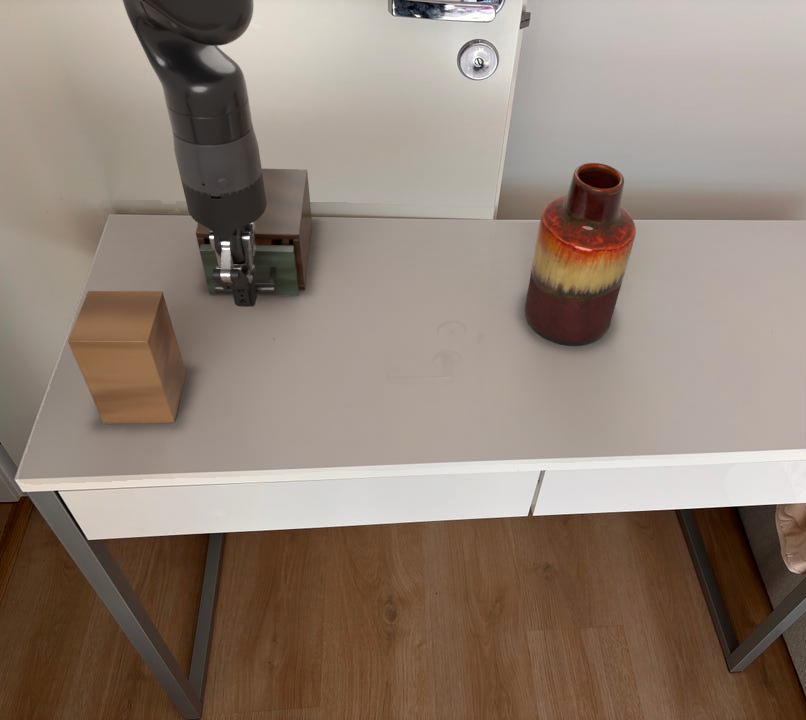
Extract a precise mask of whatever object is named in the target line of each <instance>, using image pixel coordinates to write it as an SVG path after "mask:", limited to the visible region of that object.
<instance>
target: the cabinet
mask: <svg viewBox="0 0 806 720" xmlns="http://www.w3.org/2000/svg"><path fill="white" fill-rule="evenodd" d="M262 174H263V181H264V188H265V195H266V202H267V204H266V209H265V211H264V213H263V214H262V216H261V217H260V218H259V219H257V220H256V221H255V239H284V240H293V245H294V251H295V259H296V268H297V277H298V285H299V291H306V286H307V277H308V276H307V275H308V267H309V256H310V250H311V249H310V247H311V238H312V231H313V230H312V229H313V218H312V206H311V198H310V197H311V195H310V187H309V186H310V185H309V176H308V175H309V174H308V170H307V169H297V168H295V169H293V168H292V169H291V168H290V169H288V168H262ZM210 231H211V230H210V229H208V228H207V227H205V226H203V225H201V224H199V223H198V222H197V226H196V230H195V236H196V242H197V246H198V250H200V246H201V244H211V243H210V238H209V234H210Z"/></svg>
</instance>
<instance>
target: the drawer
mask: <svg viewBox="0 0 806 720" xmlns="http://www.w3.org/2000/svg"><path fill="white" fill-rule="evenodd" d="M277 243H278V245H256V255H255V258H254V260H253V262H254V265H255V270H254V273H253V277H254V282H255V288H256V294H257V296H282V297H283V296H286V297H287V296H292V297H293V296H296V297H298V296H299V294H300V292H299V291H300V290H299V285H298V277H297V268H296V259H295V251H294V245H293V240H284V239H277ZM198 250H199V249H198ZM199 255H200V259H201V264H202V267H203V272H204V276H205V280H206V286H207V289H208V294H209V296H233V292H232V289H230V290H224V289H223V288H222V287H221V286H220V285H218V284H217V283H216V282H215V281H214V280H213V277H212V272H213V269H216V267H217V266H219V265H218V261H217V257H216V253H215V250H214V249H213V248H212V247H211V244H201V246H200V250H199Z"/></svg>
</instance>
